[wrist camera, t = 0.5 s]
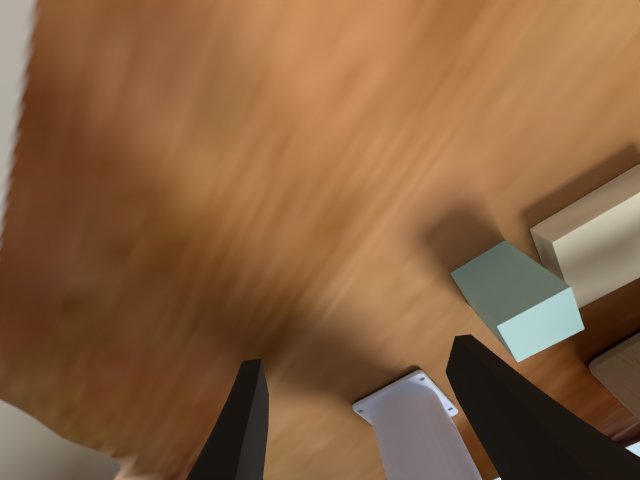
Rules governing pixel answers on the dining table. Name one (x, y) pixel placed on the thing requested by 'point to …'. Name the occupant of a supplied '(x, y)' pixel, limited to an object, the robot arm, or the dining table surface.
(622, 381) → the wooden block
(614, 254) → the cream block
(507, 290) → the teal block
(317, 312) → the dining table surface
